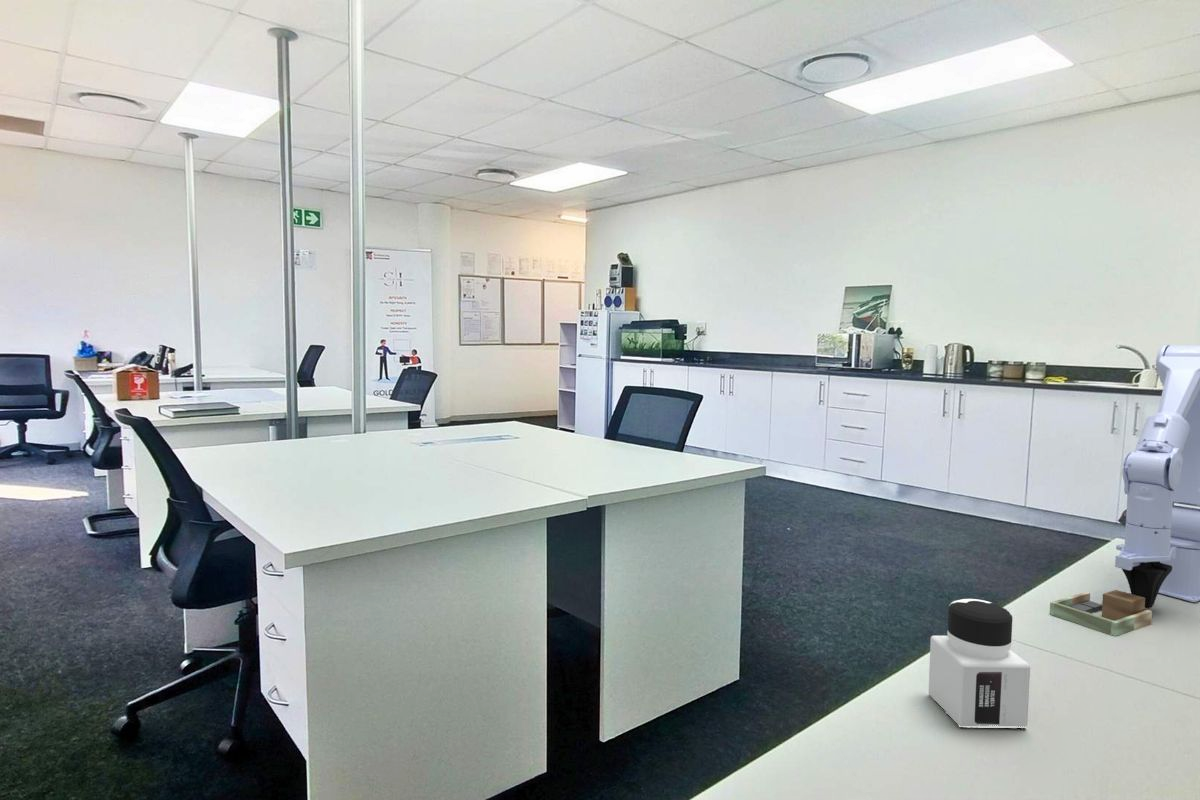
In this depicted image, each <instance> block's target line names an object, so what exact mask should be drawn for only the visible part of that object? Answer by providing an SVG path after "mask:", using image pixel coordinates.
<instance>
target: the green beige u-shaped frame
mask: <svg viewBox="0 0 1200 800" xmlns="http://www.w3.org/2000/svg"><path fill="white" fill-rule="evenodd" d="M1088 601H1091V593H1090V592H1087V591H1085V592H1082V593H1079V594H1075V595H1070V596H1067V597H1064V598H1060V599H1056V600H1053V601H1050V602H1049V603H1050V604H1049V615H1051V616H1054V617H1057V618H1060V619H1062V620H1065V621H1068V622H1072V623H1075V624H1078V625H1080V626H1083V627H1086V628H1089V629H1092V630H1095V631H1097V632H1102V633H1104V634H1107V635H1110V636H1113V637H1117V636H1119V635H1123V634H1125V633H1129V632H1131V631H1134V630H1137V629H1140V628H1144V627H1146V626H1149V625H1152V623H1153V621H1152V620H1153V619H1152V618H1153V610H1149V609H1147V610H1144V611H1143V612H1140V613H1137V614H1134V615H1131V616H1128V617H1125V618H1122V619H1119V620H1116V621H1113V620H1110V619H1107V618H1104V617H1102V616H1100V615H1097V614H1093V613H1088V612H1085V611H1082V610H1078V609H1075V608H1072V607H1071V606H1074V605H1077V604H1081V603H1084V602H1088Z"/></svg>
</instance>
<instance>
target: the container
mask: <svg viewBox="0 0 1200 800" xmlns="http://www.w3.org/2000/svg"><path fill="white" fill-rule="evenodd" d="M1013 619H1014V617H1013V615H1012V614H1011V613H1010V611H1009V610H1008V609H1006V608H1005V607H1003V606H1001V605H999V604H997V603H995V602H994V603H993V602H990V601H987V600H984V599H977V598H976V599H975V598H962V599H957V600H956V599H955V600H953V601H952V602H950V603H949V605H948V611H947V635H932V636H930V645H929V646H930V647H929V669H928V670H929V672H928V696H930V698H932V700H933V701H936V702H937V703H938V704H939V705H940V706H941V707H942V708H943V709H944V710H945V711H946V712H945V711H944V710H943V709H942V708H941V707H940V706H939V705H938V704H937V703H936V702H935V703H936V704H937V705H938V706H939V707H940V708H941V709H942V710H943V711H944V712H945V713H946V715H947V714H948V715H949V716H950V717H951V718H952V719H953V720H954V721H955V722H956V723H957V724H958V725H960V726H979V725H980V726H989V725H990V726H991V725H992V726H993V725H994V726H995V725H996V726H997V725H998V726H1018V727H1019V726H1020V727H1021V726H1022V727H1023V726H1024V727H1025V726H1027V727H1028V721H1029V720H1028V719H1029V717H1028V716H1029V700H1030V681H1031V680H1030V677H1031V666H1030V664H1029V662H1027V661H1026V660H1024V658H1022V657H1020V656H1019V655H1017V653H1015V652H1014V651H1013V650H1011V649H1012V637H1013ZM948 715H947V716H948ZM949 716H948V717H949ZM950 717H949V718H950ZM951 718H950V719H951ZM952 719H951V720H952ZM953 720H952V721H953ZM954 721H953V722H954ZM955 722H954V723H955ZM956 723H955V724H956ZM957 724H956V725H957ZM958 725H957V726H958Z"/></svg>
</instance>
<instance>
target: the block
mask: <svg viewBox="0 0 1200 800" xmlns="http://www.w3.org/2000/svg"><path fill="white" fill-rule="evenodd" d="M1101 601H1102V602H1101V604H1102V610H1101V617H1104V618H1107V619H1110V620H1113V621H1116V620H1119V619H1122V618H1125V617H1128V616H1131V615H1134V614H1137V613H1140V612H1143V611H1145V609H1146V608H1145V598H1144V597H1140V596H1137V595H1133V594H1131V592H1126V591H1121V590H1118V589H1114V590H1111V591H1108V592H1103V593H1102V600H1101Z"/></svg>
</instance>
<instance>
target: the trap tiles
mask: <svg viewBox="0 0 1200 800" xmlns="http://www.w3.org/2000/svg"><path fill="white" fill-rule="evenodd" d="M1071 607H1072V608H1075V609H1078V610H1082V611H1085V612H1088V613H1091V614H1093V613H1096V612H1099V611H1102V603H1098V602H1094V601H1091V600H1090V601H1088V602H1084V603H1081V604H1077V605H1074V606H1071Z"/></svg>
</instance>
